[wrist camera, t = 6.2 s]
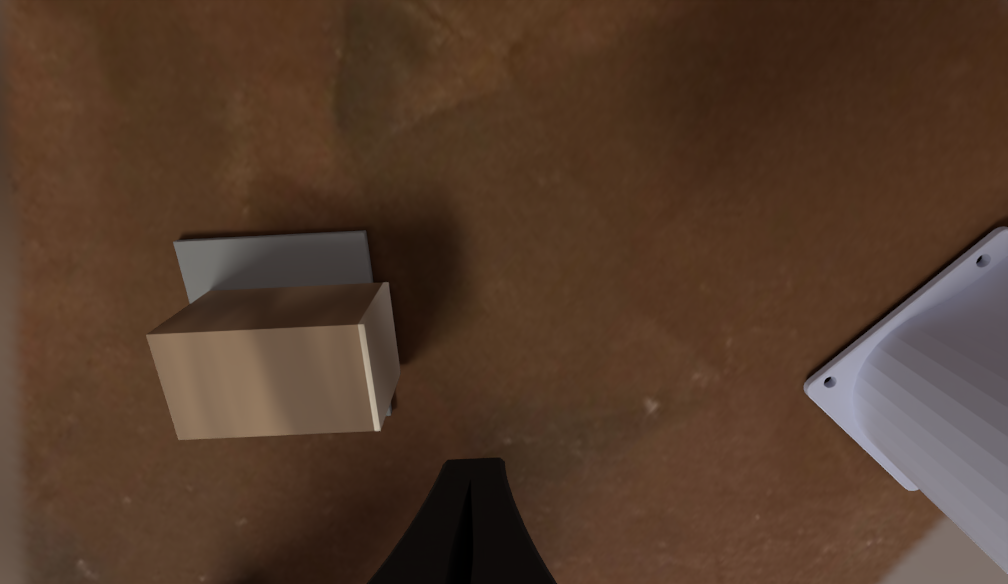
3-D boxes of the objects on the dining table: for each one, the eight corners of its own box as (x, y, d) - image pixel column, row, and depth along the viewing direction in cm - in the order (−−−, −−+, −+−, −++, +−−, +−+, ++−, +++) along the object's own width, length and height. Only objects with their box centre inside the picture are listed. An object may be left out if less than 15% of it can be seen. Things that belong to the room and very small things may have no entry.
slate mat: (365, 230, 21) (364, 232, 20) (392, 411, 23) (390, 415, 23) (177, 239, 21) (173, 242, 20) (225, 419, 24) (222, 423, 23)
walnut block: (364, 324, 17) (146, 334, 17) (380, 430, 19) (178, 439, 19) (388, 282, 21) (208, 290, 21) (400, 373, 22) (231, 381, 23)
